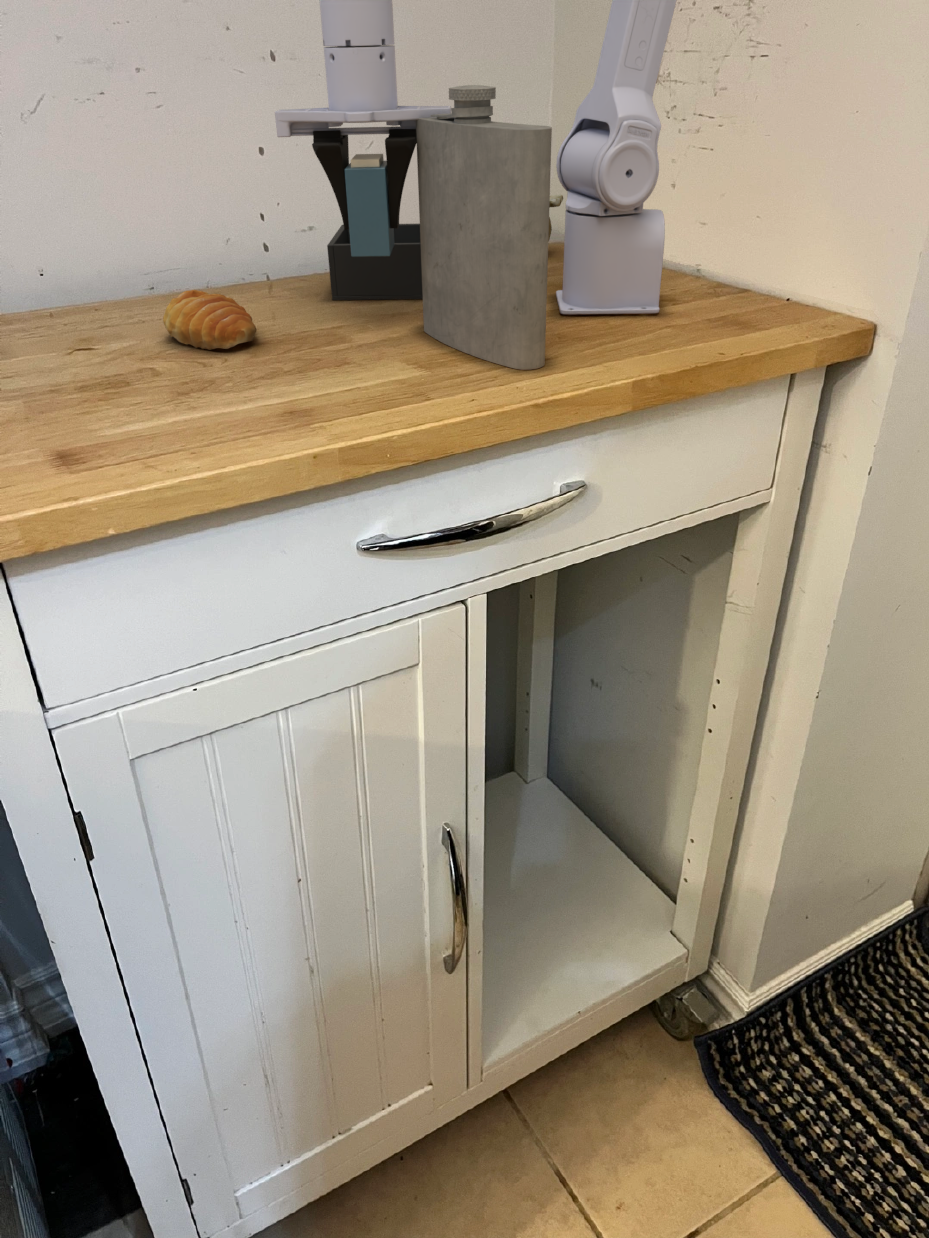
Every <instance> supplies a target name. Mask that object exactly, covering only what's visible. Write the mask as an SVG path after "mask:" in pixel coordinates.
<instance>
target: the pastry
mask: <svg viewBox="0 0 929 1238" xmlns="http://www.w3.org/2000/svg"><path fill="white" fill-rule="evenodd" d="M162 323H163V326H164V327H165V329H166V331H167V332H168V334H169V336H170V338H172V339H173V338H174V339H175V340H177V342H179V343H181V344H184V345H191V346H193V347H194V348H195V349H197V348H200V349H201V350H204V349H205V350H209V351H212V350H215V349H225V350H229V349H230V348H233V347H236V346H237V345H239V344H243V343H247V342H253V341H254V338H255V336H256V333H257V331H258V330H257V329H258V328H257V327H256V325H255V323H254V322H253V318H252V316H251V314H250V313H249V312H248V311H247V310H246V308H245V307H244V306H242V305H240V304H238V302H237V301H236V300H235V299H234V298H233V297H227V296H226V295H224V294H221V293H209V292H207V291H203V290H197V289H191V290H185V291H183V292H181V293H180V294H178V295H177V297H173V298H171V299H170V302H169V303H168V305H166V308H165V311H164V313H163V316H162Z"/></svg>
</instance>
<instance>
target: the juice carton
mask: <svg viewBox="0 0 929 1238" xmlns="http://www.w3.org/2000/svg"><path fill="white" fill-rule="evenodd" d="M345 182H346V195H347V207H348V220H349V232H350V245H351V256H352V257H380V256H390V255H391V252H392V249H393V247H394V228H391V229H390V220H389V182H388V170H387V160H385V159H384V153H355V155H354V156H353V157H352V158H351V159H350V162H349V165H348V166H347V167H346V168H345Z"/></svg>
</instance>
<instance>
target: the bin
mask: <svg viewBox="0 0 929 1238" xmlns="http://www.w3.org/2000/svg"><path fill="white" fill-rule="evenodd" d="M326 247H327V257H328V259H327V260H328V269H329V280H330V292H331V293H330V294H331V301H373V300H374V301H376V300H377V301H381V300H383V301H384V300H423V293H422V267H421V242H420V223H399V226H398V228H394V247H393V249H392V252H391V255H390V256H380V257H352V256H351V245H350V232H349V229H344V225H343V224H341V225H340V227H339V228H338V230H337V231H336V232H335V234H334V235H333V236H332V238H331V239H330V241H329V242H328V244H327V245H326Z"/></svg>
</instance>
